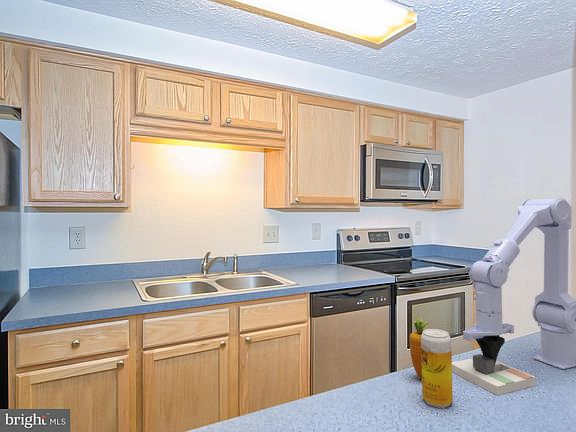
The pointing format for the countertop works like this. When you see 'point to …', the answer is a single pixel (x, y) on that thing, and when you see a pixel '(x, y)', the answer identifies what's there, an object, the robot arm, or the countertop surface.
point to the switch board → (494, 377)
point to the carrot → (417, 346)
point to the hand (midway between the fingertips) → (489, 365)
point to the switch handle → (483, 364)
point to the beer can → (436, 368)
